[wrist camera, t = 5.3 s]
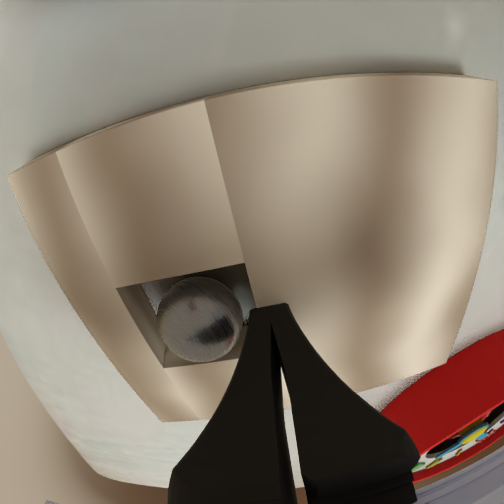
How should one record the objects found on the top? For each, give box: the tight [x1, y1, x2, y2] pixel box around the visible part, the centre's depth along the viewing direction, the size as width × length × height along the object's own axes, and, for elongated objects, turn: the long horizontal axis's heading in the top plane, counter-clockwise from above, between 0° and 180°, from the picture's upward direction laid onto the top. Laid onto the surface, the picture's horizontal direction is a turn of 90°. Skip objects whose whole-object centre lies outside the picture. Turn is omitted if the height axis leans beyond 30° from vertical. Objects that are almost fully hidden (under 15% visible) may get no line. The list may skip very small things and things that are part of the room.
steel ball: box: [157, 277, 243, 362], centre depth 12 cm, size 4×4×4 cm
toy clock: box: [380, 329, 504, 483], centre depth 22 cm, size 20×6×20 cm
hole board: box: [7, 72, 498, 422], centre depth 13 cm, size 18×16×2 cm
